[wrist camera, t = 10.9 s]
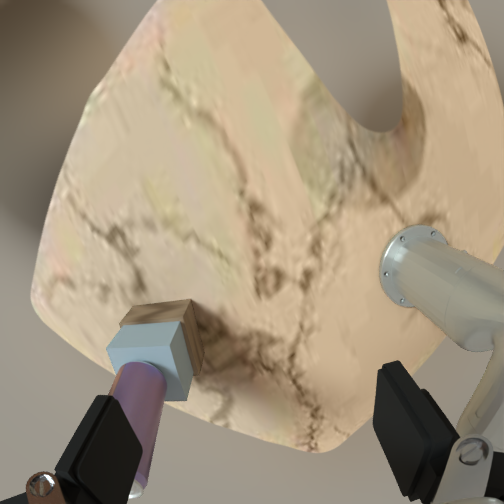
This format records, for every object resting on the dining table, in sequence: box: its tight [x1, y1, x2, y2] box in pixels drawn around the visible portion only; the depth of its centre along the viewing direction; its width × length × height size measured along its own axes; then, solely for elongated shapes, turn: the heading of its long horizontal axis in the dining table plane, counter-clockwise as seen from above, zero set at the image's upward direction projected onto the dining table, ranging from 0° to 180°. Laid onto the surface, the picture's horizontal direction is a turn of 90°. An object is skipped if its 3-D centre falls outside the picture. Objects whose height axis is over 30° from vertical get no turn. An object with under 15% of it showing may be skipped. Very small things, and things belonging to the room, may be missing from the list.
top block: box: [106, 321, 194, 401], centre depth 36 cm, size 8×8×6 cm
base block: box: [119, 299, 204, 376], centre depth 41 cm, size 9×9×6 cm
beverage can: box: [108, 361, 167, 498], centre depth 25 cm, size 6×6×15 cm
